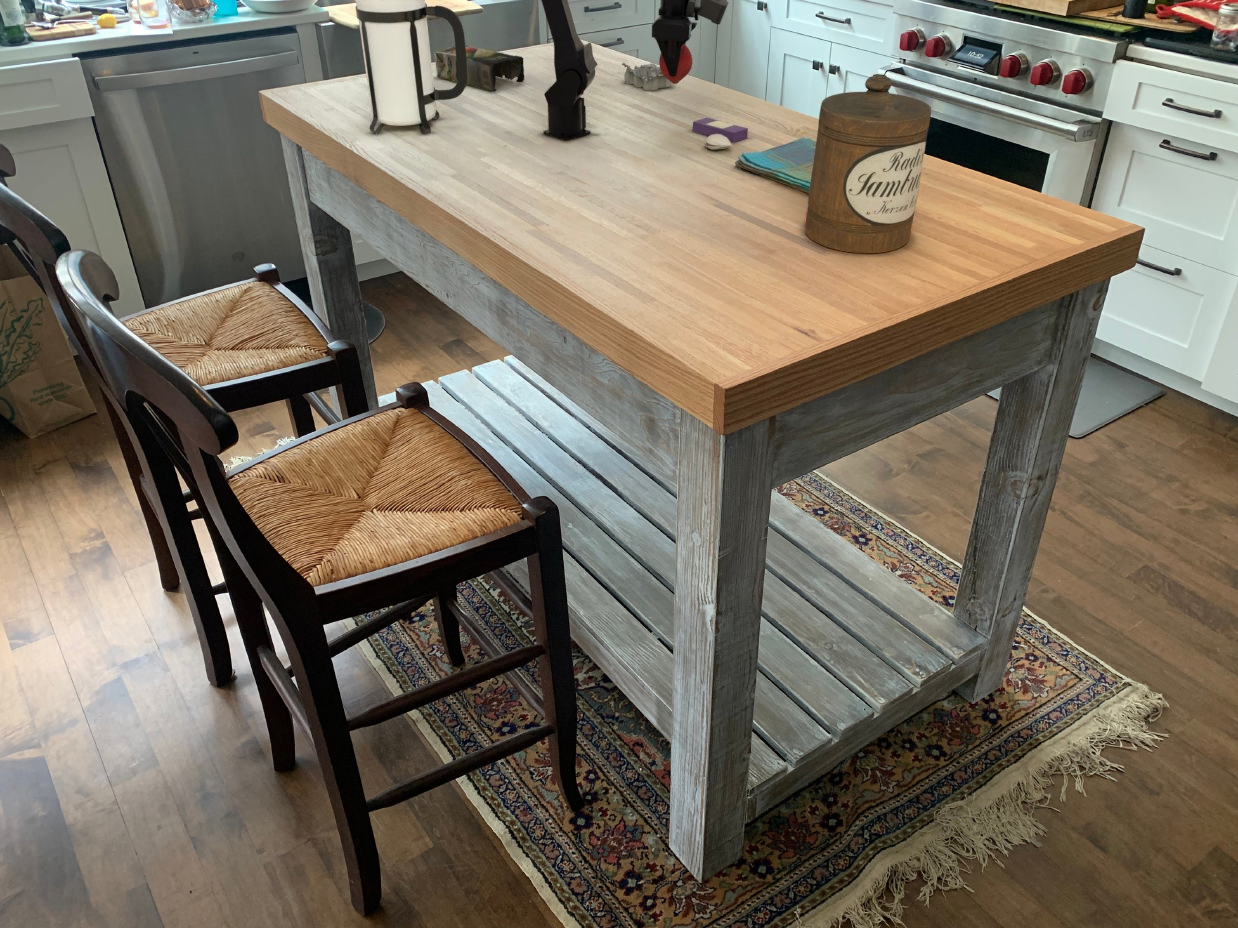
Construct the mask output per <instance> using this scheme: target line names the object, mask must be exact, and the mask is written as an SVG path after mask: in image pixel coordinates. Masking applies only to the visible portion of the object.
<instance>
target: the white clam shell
mask: <svg viewBox="0 0 1238 928" xmlns="http://www.w3.org/2000/svg"><path fill="white" fill-rule="evenodd" d="M705 142H706V143H705V147H706V148H708V149H710V150H711V151H718V150H724V149H728V148H731V147H732V146H733V145H732V144H733V143H732V142H730V141H729V139H728V138H727V137H725V136H723V135H721V134H713V135H710V136H708V135H707V137H706V139H705Z"/></svg>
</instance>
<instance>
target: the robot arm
mask: <svg viewBox="0 0 1238 928" xmlns="http://www.w3.org/2000/svg"><path fill="white" fill-rule="evenodd" d="M540 1H541V5H542V7H543V12H544V14H545V19H546V21H547V24H548V25H547V26H548V28H549V31H550V35H551V38H552V42H553V67H554V73H555V81H554V83H553V84H552V85H551V86H550V87H549V88H547V90H546V91H545V92H544V95H543V96H544V98H545V100H546V103H547V121H548V125H547V126H548V129H545V130H542V134H543V135H546V136H550V137H553V138H555V139H559V140H561V141H570V140H574V139H576V138H577V139H578V138H581V137H584V136H588V135H591V134H592V133H591V131H592V130H589V129H586V128H587V110H586V105H585V97H582V96H583V95H584V93H585V91H586V90H587V89H588V88H589V87H590V85H591V84H592V83H593V81H594V80H595V77H596V67H597V66H598V62H597V61H596V59H595V57H594V54H593V53H594V52H593V45H592V42H587V43H585V44H584V43H583V42H582V40H581V38H580V37H579V36H578V35H579V34H578V33H577V28H576V26H575V22H574V19H573V14H572V11H571V8H570V4H569V1H568V0H540ZM659 5H660V7H659V8H658V17H657V18H656V19H655V20H654V21H653V22H652V24H651V38H653V39H654V40H655V41H656V44H657V46H658V48H659V51H660V55H661V54H662V56H663V59H664V62H665V64H666V67H667V70H668V72H669V75H670V76H676V74H677V70H678V65H679V60H680V55H681V50H682V45H683V44H685V45H686V44H687V42H688V41H689V40H690V39H691V37H692V32H693V30H694V29H695V28H696V27H697V25H698V22H696V21H699V19H700V17H702V18H705V19H707V20H709V21H710V22H711V23H712V24H715V25H721V23H722V20H723V19H724V16H725V13H726V11H727V8H728V5H729V2H728V0H660V4H659ZM690 18H694V21H695V22H693V21H691V20H690ZM686 46H687V45H686Z"/></svg>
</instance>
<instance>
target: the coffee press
mask: <svg viewBox="0 0 1238 928" xmlns="http://www.w3.org/2000/svg"><path fill="white" fill-rule="evenodd" d="M354 1H355V4H356V5H355V13H356V18H357V19H358V24H359V25H358V26H359V32H360V40H361V46H362V54H363V60H364V68H365V76H366V84H367V89H368V90H367V91H368V97H369V104H370V110H371V115H372V120H371V123H370V125H369V131H370V132H371V133H373V134H376V135H378V134H380V133H381V131H382V130H383V128H384V127H386V126H400V127H402V126H403V127H405V126H413V125H414V126H416V127H418V129H419V131H420V132H421V134H423V135H426V134H429V133H431V132H432V128H431V125H430V123H429V121H431V120H435V121H437V120H439V118H440V116H441V115H440V112H439V111H438V109H437V107H436V106H437V104H436V101H446V100H453V99H457V98H458V97H460V96H461V95H462V94H463V92H464V91H465V89H466V87H467V85H466V84H467V59H466V47H465V45H466V40H465V39H466V37H465V31H464V26H463V24H462V22H461V20H460V18H459V16H458V15H457V14H456V13H455V11H453V10H452V9H451V8H449V7H447V6H443V5H434V6H432V5H431V6H428V4H427V3H426V0H354ZM427 16H428V17H436V18H442V19H445V20H446V21H447V22H448V24H449V25H450V27H451V28H452V31H453V37H454V47H455V49H456V60H457V72H458V81H457V82H456V84H455V86H454V87H452V88H449V89H436V88H435V86H434V85H435V84H434V75H433V66H432V56H431V45H430V35H429V27H428V26H429V25H428V18H427ZM377 123H380V124H378V126H376V125H377ZM375 127H376V129H375Z"/></svg>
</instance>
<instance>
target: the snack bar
mask: <svg viewBox="0 0 1238 928" xmlns="http://www.w3.org/2000/svg"><path fill="white" fill-rule="evenodd" d="M691 130H692V132H694V133H697V134H701V135H705V136H707V137H708V136H710V135H713V134H721V135H723V136H725V137H727V138H728V139H729V141H730V142H731V143H732V144H733V143H738V142H740V141H742V140H746V139H748V132H749V128H747V127H744V126H740V125H737V124H733V123H729V122H725V121H722V120H718V119H713V118H710V117H704V118H701V119H697V120H694V121H692V129H691Z"/></svg>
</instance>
